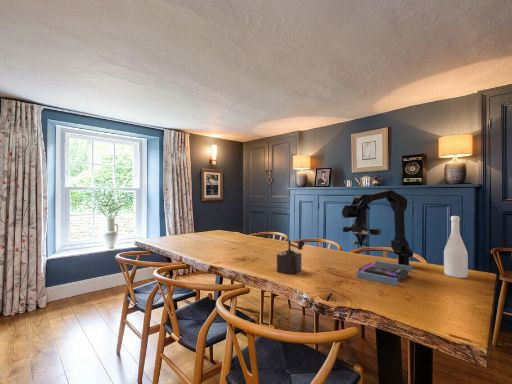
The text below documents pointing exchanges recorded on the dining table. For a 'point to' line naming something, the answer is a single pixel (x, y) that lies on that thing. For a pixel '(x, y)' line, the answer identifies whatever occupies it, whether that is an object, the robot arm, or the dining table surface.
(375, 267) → the box
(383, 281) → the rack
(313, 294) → the dining table surface
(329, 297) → the dining table surface
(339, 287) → the dining table surface
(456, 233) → the wine bottle
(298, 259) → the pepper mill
